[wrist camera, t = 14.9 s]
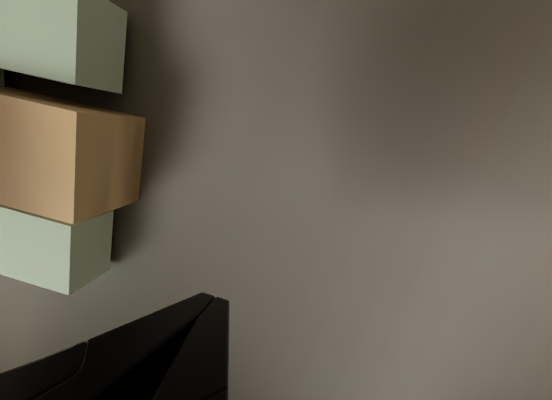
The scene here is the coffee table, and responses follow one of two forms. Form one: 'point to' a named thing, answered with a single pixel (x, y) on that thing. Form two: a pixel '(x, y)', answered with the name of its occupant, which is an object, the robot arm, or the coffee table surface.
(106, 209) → the block
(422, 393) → the coffee table surface
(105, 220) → the slot block
